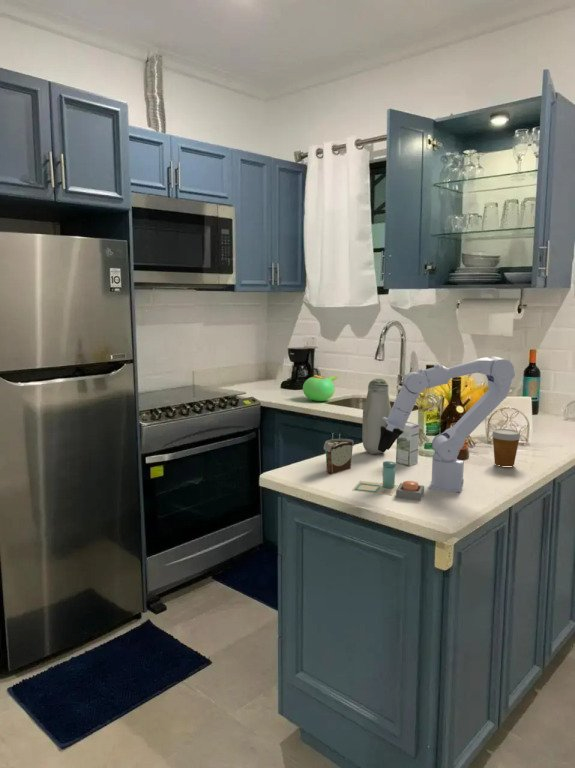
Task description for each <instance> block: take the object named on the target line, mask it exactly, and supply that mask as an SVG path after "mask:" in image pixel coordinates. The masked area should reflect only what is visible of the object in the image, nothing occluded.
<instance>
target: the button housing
mask: <svg viewBox="0 0 575 768" xmlns="http://www.w3.org/2000/svg"><path fill="white" fill-rule="evenodd" d="M424 494H425V485H422V484H421V485H420V484H418V492H417V491H409V490H403V482H400V483H399V484H398V487H397V488H396V490H395V498H396V499H402V500H403V499H404V500H409V501H410V500H412V501H418V502H421V501H422V498H423V497H424Z"/></svg>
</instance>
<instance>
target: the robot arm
mask: <svg viewBox="0 0 575 768" xmlns="http://www.w3.org/2000/svg"><path fill="white" fill-rule="evenodd" d="M514 368H515V367H514V365H513V363H512V362H511V361H510V360H509V359H507V358H502V357H499V356H497V355H496V356H495V355H492V356H489V357H487V356H486V357H481V358H477V359H473V360H470V361H467V362H463V363H460V364H455V365H454V366H450V367H446V366H444V365H439V364H434V365H433V367H430V368H426V369H423V368H421V369H418V372H415V371H409V372H408V373H406V374H405V376H403V378H402V386H401V388H400V390H399V392H398V394H397V396H396V397H395V400H394V403H393V405H392V407H391V411H390V413H389V415H388V418H386V417H383V420H385V421H386V423H387V424H388V425H386V427H384V426H381V429H380V430H381V436H380V441H379V445H378V450H379V451H381V452H383V453H382V454H384V453H385V452H386V451H389V450H390V449H391V447H392V446H393V445H394V443H395V442H396V441H397V438H398V437H399V436H400V435H401V434H402V433H403V432H404V431H402V430H400V429H404V428H405V424H406V422H407V421H408V420H409V418H410V415H411V414H412V411H413V409H414V406H415V404H416V402H417V399H418V397H419V395H420V393H422V392H423V391H425V389H426V390H428V389H431V388H435V387H439V386H442V385H447V384H449V381H450V380H451V379H454V378H458V377H462V376H468V375H472V374H473V375H474V374H481V375H485V376H486V378H487V385H488V389H487V391H486V392H484V394H483V395H482V396H481V397H480V398H479V399H478V400H477V401H476V402H475V403H474V404H473V405H472V406H471V407H470V408H469V409H468V410H467V411H466V412H465V413H464V414H463V415H462V416H461V418H460V419H459V420H457V422H456V423H455V424H454V425H453V426H451V427H449V428H447V429H445V430H444V431H443V432H442V433H439V434H437V435H435V436H434V437H433V439H432V441H431V447H432V449H433V451H434V453H433V455H432V460H431V461H432V465H431V481H430V483H429V485H428V489H432V490H440V491H449V492H456V493H461V492H462V489H463V487H464V486H463V485H464V482H465V481H464V468H465V467H464V466H465V465H464V464H465V462H464V460H462V459H458V457H459V454H460V452H461V450H462V448H463V447H464V446H465V442H466V439H467V438H468V437H469V435H471V434H472V433H473V432H474V431H475V430H476V429H477V427H479V426H480V424H482V422H483V421H484V420H485V419H487V417H488V416H489V415H491V413H492V412H493V411H495V409H496V408H497V407H498V406H499V405H500V404H502V402H503V401H504V400H505V399H506V398H507V397H508V395H509V392H510V388H511V384H512V381H513V379H514V378H515V369H514Z"/></svg>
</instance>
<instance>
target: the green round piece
mask: <svg viewBox="0 0 575 768" xmlns="http://www.w3.org/2000/svg"><path fill="white" fill-rule="evenodd" d="M337 379H339V376H330V377H327V376H321V375H316V374H315V375H313V376H311V377H309V378H307V379H306V380H305V381H304V383H303V385H302V393H303V394H304V395H305V397H306V398H307V399H308V400H310V401H314V402H325V401H327V400H330V399H331V398H332V397H333V396H334V394H335V389H336V388H335V385H334V383H333V381H335V380H337Z"/></svg>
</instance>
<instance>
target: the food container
mask: <svg viewBox="0 0 575 768" xmlns="http://www.w3.org/2000/svg"><path fill="white" fill-rule="evenodd" d="M353 447H355V443H354V440H353V439H350V438H349V439H348V438H332V439H328V440H326V441H325V442H324V445H323V450H324V452H325V460H326V461H325V462H326V473H327V474H329V475H333V474H337V473H341V472H343V471H346V470H350V469H352V458H353Z"/></svg>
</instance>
